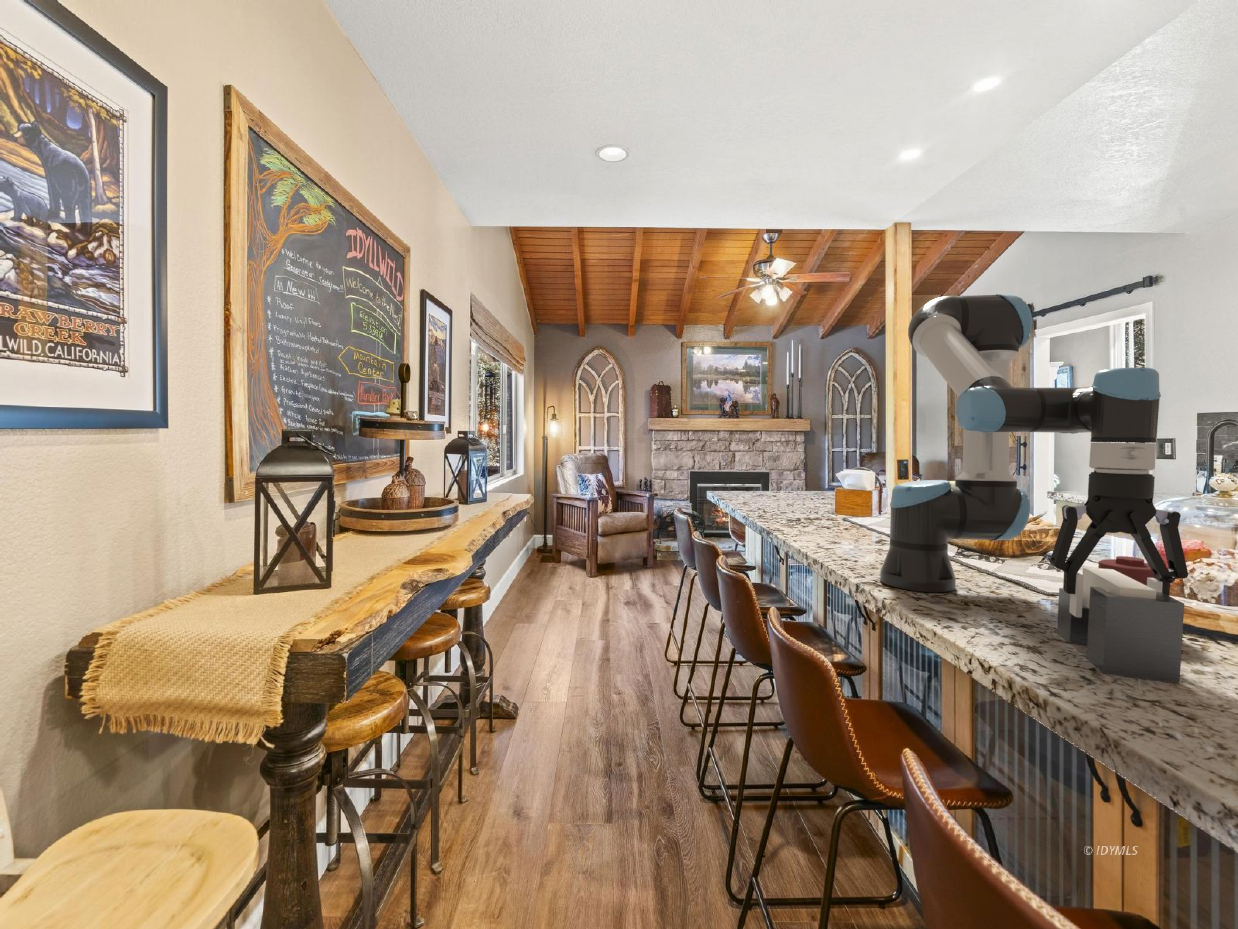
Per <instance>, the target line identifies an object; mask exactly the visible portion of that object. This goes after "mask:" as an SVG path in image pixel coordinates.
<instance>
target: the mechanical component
mask: <svg viewBox="0 0 1238 929" xmlns="http://www.w3.org/2000/svg"><path fill="white" fill-rule="evenodd" d="M1097 568H1101V569H1113V570H1115V571H1117V572H1119V573H1121V574H1124V575H1126V576H1128V577H1130V578H1132V579H1134V580H1136V581H1138V582H1140V583H1142V584H1144V585H1146V586H1147V578H1155V576H1154V574H1153V572H1152V570H1151V569H1150V567H1149V565H1148V563H1147V562H1145V558H1139V557H1136V556H1134V557H1133V556H1127V555H1125V556H1124V555H1122V556H1121V555H1119V556H1116V557H1115V559H1114V558H1112V559H1110V558H1109V559H1106V558H1105V559H1101V560H1098V567H1097Z"/></svg>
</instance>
